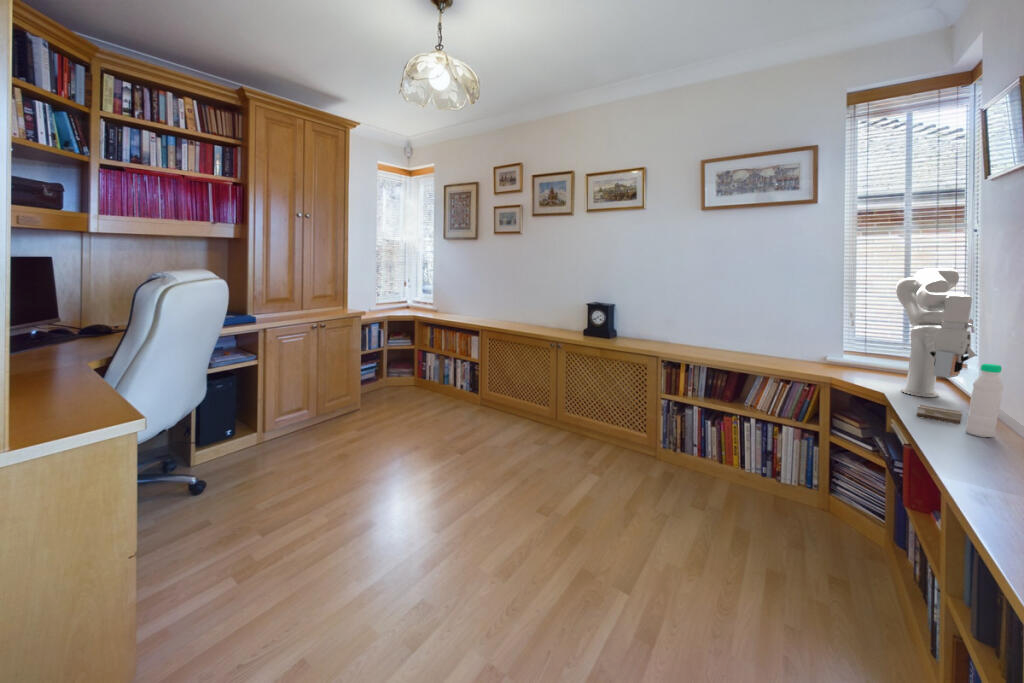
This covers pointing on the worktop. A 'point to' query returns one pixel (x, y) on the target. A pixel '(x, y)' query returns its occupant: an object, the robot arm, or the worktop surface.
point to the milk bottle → (985, 402)
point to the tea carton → (945, 364)
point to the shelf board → (939, 414)
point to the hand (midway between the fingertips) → (947, 369)
